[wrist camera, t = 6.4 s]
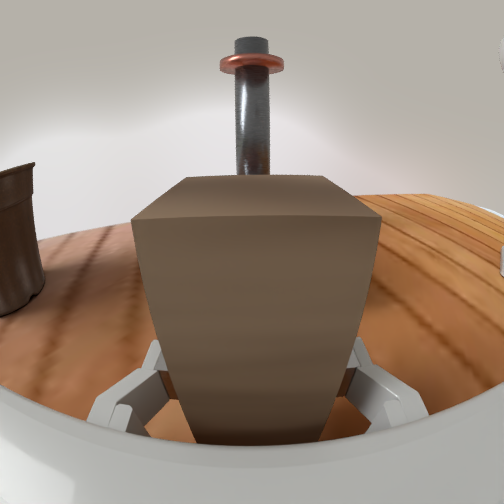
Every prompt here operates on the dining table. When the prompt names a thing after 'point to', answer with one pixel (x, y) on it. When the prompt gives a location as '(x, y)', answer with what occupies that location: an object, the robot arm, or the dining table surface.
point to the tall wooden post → (256, 300)
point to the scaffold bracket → (252, 102)
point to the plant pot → (18, 240)
